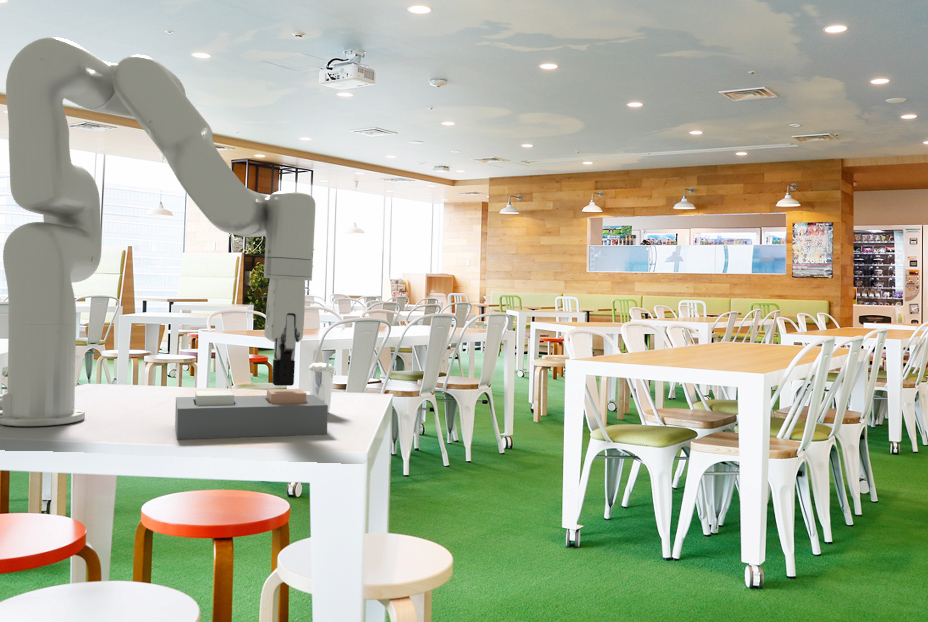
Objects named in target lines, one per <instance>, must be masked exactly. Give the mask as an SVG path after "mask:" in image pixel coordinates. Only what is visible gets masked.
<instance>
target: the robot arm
mask: <svg viewBox="0 0 928 622" xmlns="http://www.w3.org/2000/svg"><path fill="white" fill-rule="evenodd" d="M186 94H187V93H186V90H185V88H184V85H183V83H182V81H181V80H180V79H179V78H178V76H177V75H176V74H174V72H172V71H171V70H169V69H168V68H167V67H166V66H164V65H163V64H161V63H160V62H159V61H157V60H155V59H154V58H151V57H149V56H147V55H143V54H142V55H140V54H135V55H130V56H127V57H124V58H123V59H121V60H120V61H119V62H118V63H111V62H107V61H104V60H102V59H101V58H99V57H98V56H96V55H94V54H93V53H92V52H90V51H89V50H87V49H85V48H84V47H82V46H81V45H79V44H77V43H75V42H73V41H70V40H68V39H64V38H60V37H56V36H55V37H52V36H51V37H43V38H38V39H36V40H33V41H31V42H30V43H28V44H27V45H25V46H24V47H23V48H22V49H21V50H20V51H19V52H18V53H16V55H15V57H14V58H13V60H12V61H11V63H10V65H9V68H8V70H7V75H6V80H5V97H6V107H7V119H8V121H7V122H8V157H9V159H8V160H9V161H8V162H9V183H10V184H9V185H10V186H9V187H10V193H11V196H12V198H13V200H14V202H15V203H16V204H17V205H18V206H19V207H20V208H22V209H24V210H25V211H29V212H32V213H34V214H38V215H43V216H42V218H43V221H35V222H34V221H33V222H28V223H25V224H22V225H20V226H19V227H16V228H15V229H14V230H13V231H12V232H10V233H9V235H8V236H7V238H6V240H5V242H4V246H3V251H2V254H3V255H2V259H3V269H4V274H5V279H6V287H7V297H8V298H7V299H8V302H7V303H8V314H7V315H8V338H7V339H8V345H7V347H8V349H7V351H8V352H7V391H6V392H4V393H3V394H0V411H2V412H0V425H2V426H10V427H11V426H12V427H45V426H46V427H47V426H48V427H49V426H59V425H66V424H67V425H68V424H73V423H77V422H80V421H83V420H84V419H85V417H86V411H84V410H83V409H80V408H75V403H76V402H75V401H76V400H75V399H76V398H75V395H76V394H75V392H76V347H77V346H76V344H77V343H76V341H77V340H76V336H77V335H76V334H77V332H76V331H77V323H76V322H77V304H76V298H75V293H74V287H73V284H72V283H78V282H82V281H86V280H87V279H89V278H90V277H91V276H93V274H95V272H96V271H97V269H98V267H99V266H100V263H101V258H102V230H101V229H102V227H101V202H100V201H101V200H100V192H99V189H98V188H99V187H98V185H97V183H96V180H95V179H94V177H93V176H92V174H91V173H90V172H89V171H88V170H87V169H85V168H84V167H82V166H81V165H79V164H77V163H74V162H72V160H71V151H70V149H71V148H70V128H69V124H68V123H69V122H68V120H67V119H68V118H67V116H66V113H65V109H64V103H63V102H64V99H65V100H66V101H69V102H71V103H72V104H75V105H78V106H79V107H82V108H84V109H87V110H90V111H94V112H100V113H104V114H110V115H116V116H123V117H128V118H134V119H135V121H136V122H137V123H138V125H140V126H141V127H142V129H143V131H145V133H146V134H147V135H148V137H149V138H150V139H151V141H152V142H153V143H154V145H155V146H156V147H157V149H158V150H159V151H160V152H161V153H162V155H163V156H164V157H165V159H166V161H167V164H168V165H169V167H170V169H171V171H172V172H173V173H174V175H175V176H176V179H177V180H178V182H179V184H180V186H182V188H183V190H184V191H185V193H186V194H187V195H188V196H189V197H190V199H191V200H192V201H193V203H194V204H195V205H196V206H197V207H198V209H199V210H200V211H201V213H202V214H203V215H204V216H205V217H206V218H207V220H208V221H209V222H210V223H211V224H212V225H213V226H214V227H215V228H217V229H218V230H220V231H222V232H224V233H227V234H230V235H235V236H238V237H243V238H258V237H259V238H260V237H265V243H264V244H265V247H264V265H263V268H264V269H263V278H264V279H269V282H268V288H267V296H266V297H267V298H266V299H267V300H266V309H265V310H266V311H265V323H264V333H263V335H264V337H265V338H266V339H267V340H269V341H271V342H274V345H273V346H274V349H273V351H274V352H273V358H274V359H272V376H271V377H272V378H271V379H272V380H271V383H272V385H274V386H276V387H278V386H285V387H288V386H289V387H290V386H293V385H294V383H295V369H296V367H295V366H296V364H295V363H296V360H295V357H296V346H297V345H296V343H299V342H301V341H302V340H303V336H304V325H305V303H306V281H309V282H310V281H313V267H314V266H313V263H314V261H313V260H314V248H315V247H314V244H315V225H316V223H315V222H316V201H315V199H314V197H313V196H311V195H310V194H307V193H303V192H296V191H276V192H273V193H271V194H265V193H260V192H257V191H254V190H252V189H250V188H248V187H246V186H245V184H244V183H243V182H242V181H241V180H240V179H239V178H238V176H237V175H236V174H235V173H234V171H233V170H232V168H231V167H230V166H229V164H228V163H227V162H226V160H225V159H224V158H223V156H222V155H221V154H220V152H219V151H218V149H217V147H216V145H215V142H214V140H213V139H214V138H213V130H212V128H211V126H210V124H209V123H208V122H207V121H206V119H205V118H204V117H203V116H202V114H200V112H199V110H197V108H196V107H195V106H194V105H193V103H192V102H191V101H190V99H189V98H188V97H187V96H186Z"/></svg>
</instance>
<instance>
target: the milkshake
mask: <svg viewBox="0 0 928 622" xmlns="http://www.w3.org/2000/svg"><path fill="white" fill-rule="evenodd" d="M330 362H331V359H329V358H328V359H327V360H326V362H312V363H311V364H310V365H309V366H308V377H309V395H315V396H316V397H317V398H319V399H320V400H321V401H323V402H324V403H326V404H327V405H328V414H329V413H330V409H331V401H332V391H333V390H332V389H333V381H334V375H335V374H334V373H335V367H334V366H333V365H332V364H331V363H330Z"/></svg>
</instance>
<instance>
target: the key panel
mask: <svg viewBox="0 0 928 622" xmlns="http://www.w3.org/2000/svg"><path fill="white" fill-rule="evenodd" d="M174 413H175V416H174V418H175V419H174V420H175V421H174V426H175V434H176V439H177V440H198V439H203V440H204V439H224V438H225V439H226V438H249V437H251V438H252V437H253V438H254V437H281V436H283V437H284V436H307V435H308V436H309V435H311V436H312V435H328V418H329V417H328V414H329V413H328V405H327V404H326V403H324V402H323V401H321V400H320V399H319V398H317V397H316V396H315V395H310V394H306V403H273V404H270V403H269V402H268V401H267V395H234V404H229V405H195V396H176V397H175V412H174Z"/></svg>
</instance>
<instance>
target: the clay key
mask: <svg viewBox="0 0 928 622" xmlns="http://www.w3.org/2000/svg"><path fill="white" fill-rule="evenodd" d="M306 395H307V393H306V392H305V391H304V390H303V389H302V388H287V389H286V388H275V389H273V388H271V389H270V388H269V389H266V396H267V401H268V402H269V403H270V404H273V403H306Z"/></svg>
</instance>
